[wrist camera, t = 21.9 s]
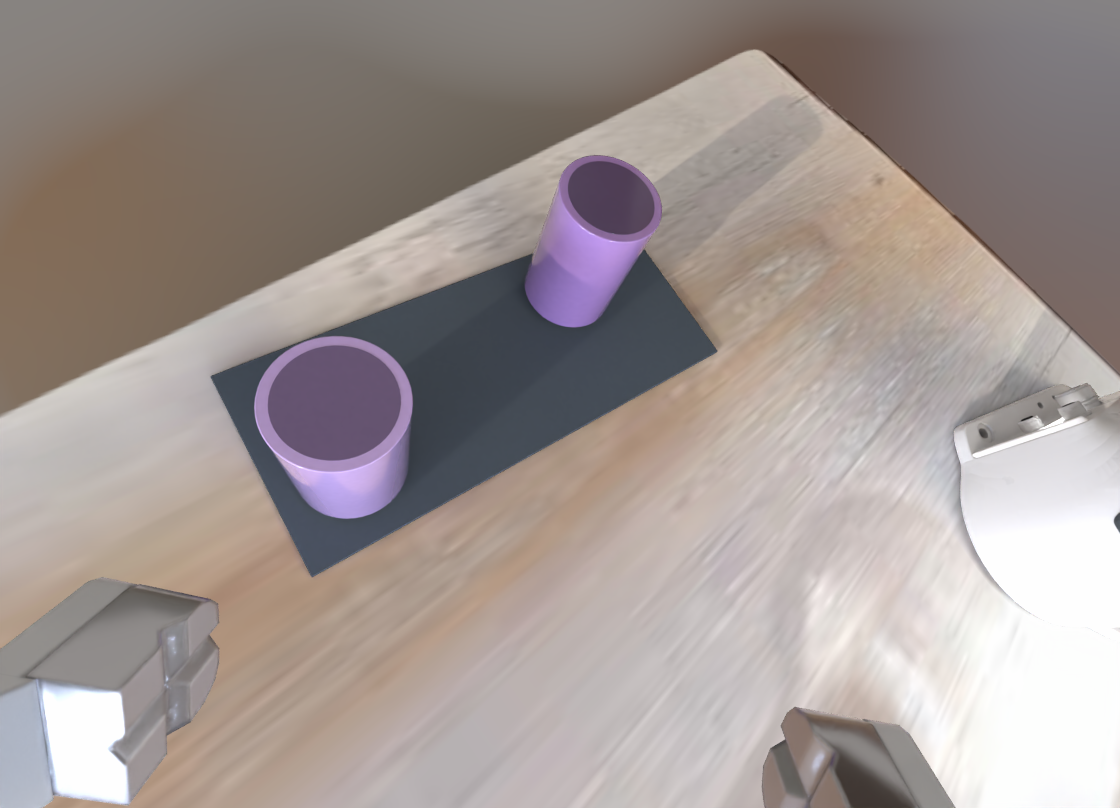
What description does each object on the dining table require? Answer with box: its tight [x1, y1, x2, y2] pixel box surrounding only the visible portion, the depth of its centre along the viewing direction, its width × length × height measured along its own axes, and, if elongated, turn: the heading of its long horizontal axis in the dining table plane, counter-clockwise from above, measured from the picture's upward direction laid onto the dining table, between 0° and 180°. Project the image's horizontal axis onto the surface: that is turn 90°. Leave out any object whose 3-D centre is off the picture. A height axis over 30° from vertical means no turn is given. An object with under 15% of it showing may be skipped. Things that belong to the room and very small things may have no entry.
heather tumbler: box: [525, 155, 662, 327], centre depth 37 cm, size 6×6×10 cm
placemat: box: [211, 250, 717, 577], centre depth 38 cm, size 31×13×1 cm, turn 124°
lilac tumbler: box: [254, 336, 413, 519], centre depth 28 cm, size 6×6×10 cm
